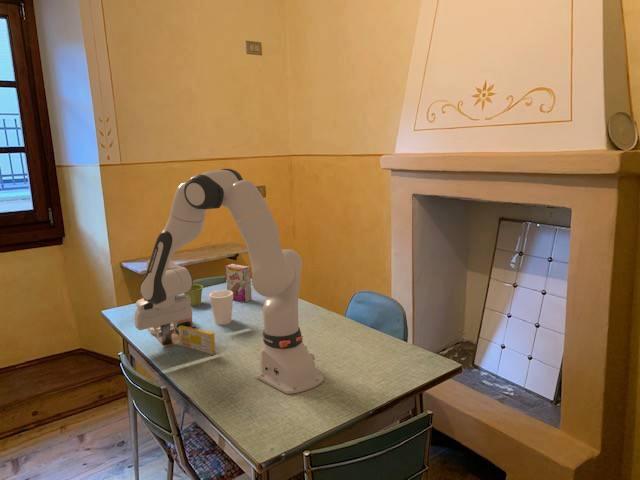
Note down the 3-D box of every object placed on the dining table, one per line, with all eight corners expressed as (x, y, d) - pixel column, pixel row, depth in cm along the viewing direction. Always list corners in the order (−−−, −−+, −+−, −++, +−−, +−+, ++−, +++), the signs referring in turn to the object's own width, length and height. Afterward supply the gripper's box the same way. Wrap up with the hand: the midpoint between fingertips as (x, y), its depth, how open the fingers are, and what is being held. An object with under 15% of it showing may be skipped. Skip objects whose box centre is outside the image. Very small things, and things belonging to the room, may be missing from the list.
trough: (178, 329, 187) (177, 324, 186) (152, 335, 181) (151, 330, 181) (172, 323, 193) (171, 318, 193) (147, 329, 188) (146, 324, 187)
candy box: (216, 354, 167) (214, 332, 165) (212, 356, 165) (210, 334, 163) (183, 345, 175) (181, 324, 173) (179, 347, 173) (177, 326, 171)
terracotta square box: (192, 324, 191) (191, 310, 190) (178, 328, 188) (176, 313, 187) (187, 319, 196) (186, 306, 195) (173, 323, 193) (171, 309, 191)
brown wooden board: (207, 338, 179) (206, 331, 179) (164, 350, 171) (164, 342, 170) (187, 321, 197) (186, 314, 196) (148, 330, 188) (147, 323, 188)
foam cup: (237, 319, 198) (235, 290, 195) (231, 328, 189) (229, 297, 186) (215, 319, 198) (213, 290, 196) (208, 328, 189) (206, 297, 187)
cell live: (173, 342, 174) (171, 323, 173) (163, 345, 172) (161, 326, 170) (170, 339, 177) (168, 320, 175) (160, 341, 175) (158, 323, 173)
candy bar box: (227, 299, 223) (224, 265, 219) (234, 296, 227) (232, 263, 223) (245, 303, 217) (243, 268, 213) (252, 299, 221) (250, 266, 217)
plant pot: (182, 304, 218) (180, 286, 216) (202, 300, 222) (200, 283, 220) (185, 310, 210) (183, 292, 208) (206, 306, 214) (205, 288, 212)
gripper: (187, 291, 179) (190, 325, 182) (131, 302, 168) (135, 338, 171) (193, 295, 174) (196, 330, 177) (135, 307, 163) (140, 344, 166)
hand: (166, 334), depth 174 cm, fingers closed on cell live, 4 cm apart
